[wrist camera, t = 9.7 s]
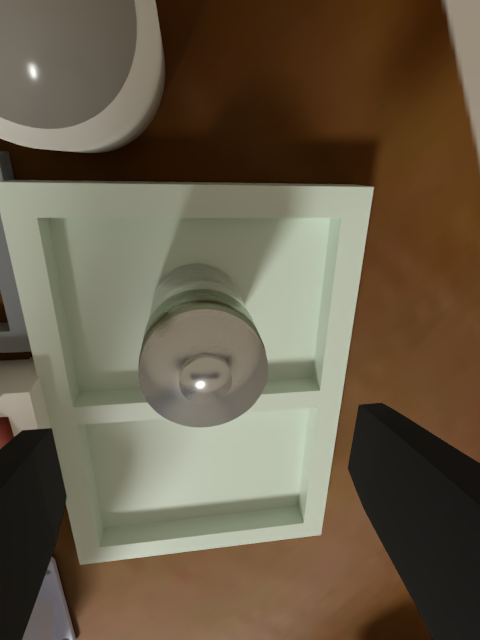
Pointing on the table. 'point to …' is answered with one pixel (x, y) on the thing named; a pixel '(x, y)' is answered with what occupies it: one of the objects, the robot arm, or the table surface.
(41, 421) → the frame
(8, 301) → the cradle
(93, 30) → the cup
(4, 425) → the button
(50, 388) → the trough tray
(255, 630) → the table surface
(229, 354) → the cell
